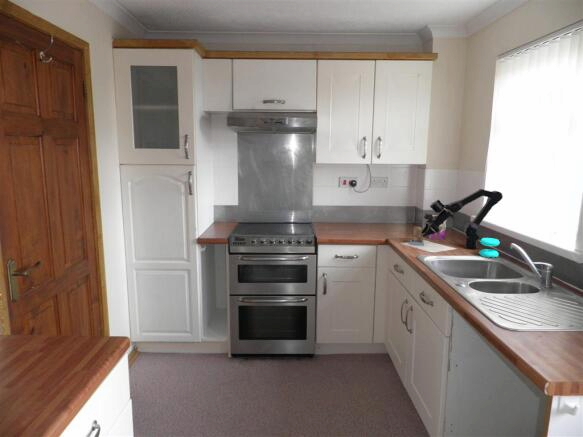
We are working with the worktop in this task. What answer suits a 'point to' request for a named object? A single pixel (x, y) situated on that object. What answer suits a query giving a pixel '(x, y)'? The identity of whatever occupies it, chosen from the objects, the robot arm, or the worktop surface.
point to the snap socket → (417, 243)
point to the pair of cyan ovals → (488, 251)
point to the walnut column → (417, 234)
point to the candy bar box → (441, 232)
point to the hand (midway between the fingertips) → (422, 234)
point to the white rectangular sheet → (430, 246)
